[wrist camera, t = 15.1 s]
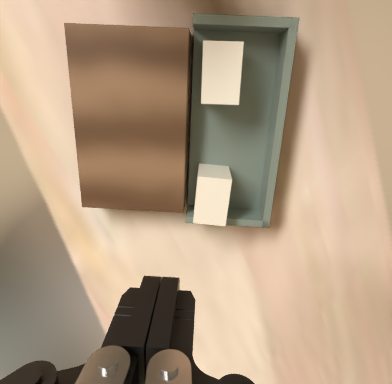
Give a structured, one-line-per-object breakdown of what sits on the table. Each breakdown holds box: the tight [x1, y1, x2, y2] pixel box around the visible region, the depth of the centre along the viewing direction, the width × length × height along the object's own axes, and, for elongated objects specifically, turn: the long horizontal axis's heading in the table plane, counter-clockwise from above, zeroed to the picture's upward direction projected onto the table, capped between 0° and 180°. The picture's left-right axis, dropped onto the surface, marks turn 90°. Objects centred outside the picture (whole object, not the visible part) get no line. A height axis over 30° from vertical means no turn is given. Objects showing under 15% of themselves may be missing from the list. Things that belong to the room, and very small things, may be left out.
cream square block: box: [193, 163, 232, 226], centre depth 28 cm, size 4×4×3 cm
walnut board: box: [64, 23, 191, 213], centre depth 28 cm, size 16×10×3 cm, turn 178°
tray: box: [186, 13, 299, 227], centre depth 27 cm, size 18×8×3 cm, turn 178°
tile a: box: [201, 40, 244, 105], centre depth 25 cm, size 4×4×3 cm
